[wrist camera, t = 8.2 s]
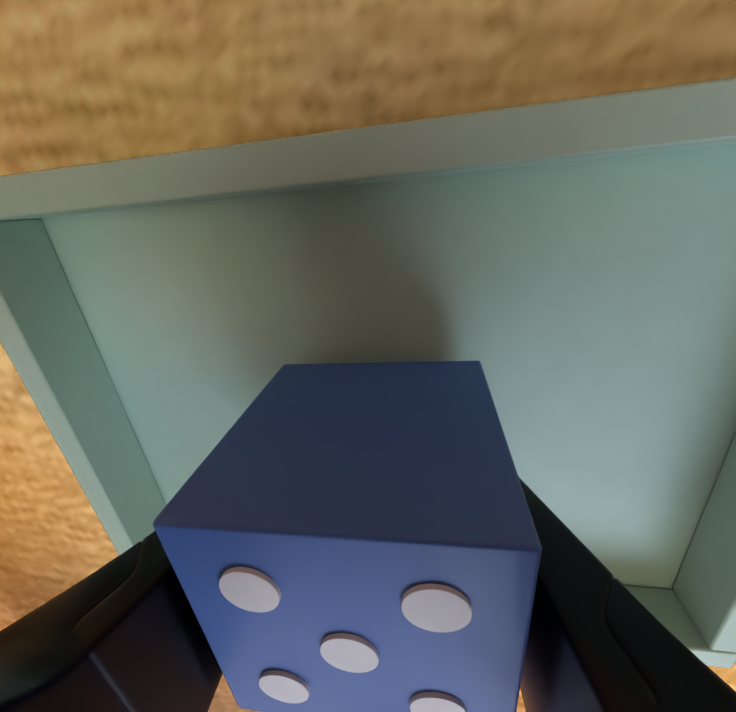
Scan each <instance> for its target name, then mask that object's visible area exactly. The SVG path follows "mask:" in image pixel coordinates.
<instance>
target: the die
mask: <svg viewBox="0 0 736 712" xmlns="http://www.w3.org/2000/svg"><path fill="white" fill-rule="evenodd" d="M153 527H154V529H155V531H156V533H157V535H158V537H159V540H160V542H161V544H162V546H163V548H164V550H165V552H166V554H167V556H168V559H169V561H170V563H171V565H172V567H173V569H174V571H175V573H176V575H177V578H178V580H179V582H180V584H181V586H182V588H183V590H184V592H185V594H186V596H187V599H188V601H189V603H190V605H191V607H192V609H193V611H194V613H195V615H196V618H197V620H198V622H199V624H200V626H201V628H202V630H203V632H204V634H205V637H206V639H207V641H208V643H209V645H210V647H211V649H212V651H213V653H214V656H215V658H216V660H217V662H218V664H219V666H220V668H221V670H222V672H223V675H224V677H225V679H226V681H227V683H228V685H229V687H230V689H231V691H232V694H233V696H234V698H235V700H236V702H237V704H238V706H239V707H240V708H244V709H251V710H257V711H263V712H516V709H517V702H518V696H519V690H520V683H521V677H522V671H523V665H524V658H525V652H526V646H527V639H528V633H529V627H530V621H531V614H532V608H533V602H534V596H535V589H536V583H537V577H538V570H539V564H540V558H541V552H542V546H541V543H540V540H539V537H538V534H537V531H536V528H535V525H534V522H533V519H532V516H531V513H530V510H529V507H528V504H527V501H526V498H525V495H524V492H523V489H522V486H521V483H520V480H519V477H518V474H517V471H516V468H515V465H514V462H513V459H512V456H511V453H510V450H509V447H508V444H507V441H506V438H505V435H504V432H503V429H502V426H501V423H500V420H499V417H498V414H497V411H496V407H495V404H494V401H493V398H492V395H491V392H490V389H489V386H488V383H487V380H486V377H485V374H484V371H483V368H482V365H481V362H480V361H428V362H377V363H326V364H285V365H283V366H282V367H281V368H280V369H279V371H278V372H277V373H276V374H275V375H274V377H273V378H272V379H271V380H270V381H269V383H268V384H267V385H266V386H265V387H264V389H263V390H262V391H261V392H260V393H259V395H258V396H257V397H256V398H255V399H254V401H253V402H252V403H251V404H250V405H249V407H248V408H247V409H246V410H245V411H244V413H243V414H242V415H241V416H240V417H239V419H238V420H237V421H236V422H235V423H234V425H233V426H232V427H231V428H230V429H229V431H228V432H227V433H226V434H225V435H224V437H223V438H222V439H221V440H220V441H219V443H218V444H217V445H216V446H215V447H214V449H213V450H212V451H211V452H210V453H209V455H208V456H207V457H206V458H205V459H204V461H203V462H202V463H201V464H200V465H199V467H198V468H197V469H196V470H195V471H194V473H193V474H192V475H191V476H190V477H189V479H188V480H187V481H186V482H185V483H184V485H183V486H182V487H181V488H180V489H179V491H178V492H177V493H176V494H175V495H174V497H173V498H172V499H171V500H170V501H169V503H168V504H167V505H166V506H165V507H164V509H163V510H162V511H161V512H160V513H159V515H158V516H157V517H156V518H155V519H154V522H153Z"/></svg>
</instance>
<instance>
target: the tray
mask: <svg viewBox="0 0 736 712" xmlns="http://www.w3.org/2000/svg"><path fill="white" fill-rule="evenodd" d="M0 341H1V343H2V345H3V347H4V349H5V350H6V352H7V354H8V356H9V358H10V359H11V361H12V363H13V365H14V367H15V369H16V370H17V372H18V374H19V376H20V378H21V379H22V381H23V383H24V385H25V387H26V388H27V390H28V392H29V394H30V396H31V397H32V399H33V401H34V403H35V405H36V406H37V408H38V410H39V412H40V414H41V415H42V417H43V419H44V421H45V423H46V424H47V426H48V428H49V430H50V432H51V433H52V435H53V437H54V439H55V441H56V442H57V444H58V446H59V448H60V450H61V451H62V453H63V455H64V457H65V459H66V460H67V462H68V464H69V466H70V468H71V469H72V471H73V473H74V475H75V477H76V478H77V480H78V482H79V484H80V486H81V487H82V489H83V491H84V493H85V495H86V496H87V498H88V500H89V502H90V504H91V505H92V507H93V509H94V511H95V513H96V514H97V516H98V518H99V520H100V522H101V523H102V525H103V527H104V529H105V531H106V532H107V534H108V536H109V538H110V540H111V541H112V543H113V545H114V547H115V549H116V550H117V552H118V554H119V555H121V554H122V553H124V552H125V551H126V550H128V549H129V548H131V547H132V546H134V545H135V544H136V543H138V542H139V541H143V539H144V538H145V537H147V536H148V535H149V534H151V533H152V532H154V531H155V529H154V527H153V522H154V519H155V518H156V517H157V516H158V515H159V513H160V512H161V511H162V510H163V509H164V507H165V506H166V505H167V504H168V503H169V501H170V500H171V499H172V498H173V497H174V495H175V494H176V493H177V492H178V491H179V489H180V488H181V487H182V486H183V485H184V483H185V482H186V481H187V480H188V479H189V477H190V476H191V475H192V474H193V473H194V471H195V470H196V469H197V468H198V467H199V465H200V464H201V463H202V462H203V461H204V459H205V458H206V457H207V456H208V455H209V453H210V452H211V451H212V450H213V449H214V447H215V446H216V445H217V444H218V443H219V441H220V440H221V439H222V438H223V437H224V435H225V434H226V433H227V432H228V431H229V429H230V428H231V427H232V426H233V425H234V423H235V422H236V421H237V420H238V419H239V417H240V416H241V415H242V414H243V413H244V411H245V410H246V409H247V408H248V407H249V405H250V404H251V403H252V402H253V401H254V399H255V398H256V397H257V396H258V395H259V393H260V392H261V391H262V390H263V389H264V387H265V386H266V385H267V384H268V383H269V381H270V380H271V379H272V378H273V377H274V375H275V374H276V373H277V372H278V371H279V369H280V368H281V367H282V366H283V365H285V364H326V363H377V362H428V361H480V362H481V365H482V368H483V371H484V374H485V377H486V380H487V383H488V386H489V389H490V392H491V395H492V398H493V401H494V404H495V407H496V411H497V414H498V417H499V420H500V423H501V426H502V429H503V432H504V435H505V438H506V441H507V444H508V447H509V450H510V453H511V456H512V459H513V462H514V465H515V468H516V471H517V474H518V476H519V477H520V479H521V480H522V481H523V482H524V483H525V484H526V485H527V486H528V487H529V488H530V489H531V490H532V491H533V492H534V493H535V494H536V495H537V496H538V497H539V498H540V499H541V500H542V501H543V502H544V503H545V504H546V506H547V507H548V508H549V509H550V510H551V511H552V512H553V513H554V514H555V515H556V516H557V517H558V518H559V519H560V520H561V521H562V522H563V523H564V524H565V525H566V526H567V527H568V528H569V529H570V530H571V531H572V533H573V534H574V535H575V536H576V537H577V538H578V539H579V540H580V541H581V542H582V543H583V544H584V545H585V546H586V547H587V548H588V549H589V550H590V551H591V552H592V553H593V554H594V555H595V556H596V557H597V558H598V560H599V561H600V562H601V563H602V564H603V565H604V566H605V567H606V568H607V569H608V570H609V571H610V572H611V573H612V574H613V579H614V578H617V579H618V580H619V581H620V582H621V583H622V584H623V585H624V586H625V587H626V588H627V589H628V590H629V591H630V593H631V594H632V595H633V596H634V597H635V598H636V599H637V600H638V601H639V602H640V603H641V604H642V605H643V606H644V607H645V608H646V609H647V610H648V611H649V612H650V613H651V614H652V615H653V616H654V617H655V618H656V619H657V620H658V621H659V622H660V623H661V624H662V625H663V626H664V627H666V628H667V629H668V630H669V631H670V632H671V633H672V634H673V635H674V636H675V637H676V638H677V639H678V640H680V641H681V642H682V643H683V644H684V645H685V646H686V647H687V648H688V649H689V650H690V651H691V652H692V653H693V654H695V655H696V656H697V657H698V658H699V659H700V660H701V661H702V662H703V663H704V664H705V665H707V666H715V667H724V668H732V667H733V665H734V664H735V662H736V77H732V78H724V79H717V80H710V81H702V82H695V83H687V84H680V85H672V86H665V87H658V88H650V89H643V90H635V91H628V92H620V93H613V94H606V95H598V96H591V97H583V98H576V99H568V100H561V101H553V102H546V103H539V104H531V105H524V106H516V107H509V108H501V109H494V110H487V111H479V112H472V113H464V114H457V115H449V116H442V117H435V118H427V119H420V120H412V121H405V122H397V123H390V124H383V125H375V126H368V127H360V128H353V129H345V130H338V131H331V132H323V133H316V134H308V135H301V136H293V137H286V138H279V139H271V140H264V141H256V142H249V143H241V144H234V145H227V146H219V147H212V148H204V149H197V150H189V151H182V152H175V153H167V154H160V155H152V156H145V157H137V158H130V159H123V160H115V161H108V162H100V163H93V164H85V165H78V166H70V167H63V168H56V169H48V170H41V171H33V172H26V173H18V174H11V175H4V176H0Z"/></svg>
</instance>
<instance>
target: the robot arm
mask: <svg viewBox="0 0 736 712" xmlns="http://www.w3.org/2000/svg"><path fill="white" fill-rule="evenodd" d="M518 477H519V476H518ZM519 480H520V483H521V486H522V489H523V492H524V495H525V498H526V501H527V504H528V507H529V510H530V513H531V516H532V519H533V522H534V525H535V528H536V531H537V534H538V537H539V540H540V543H541V546H542V552H541V558H540V564H539V570H538V577H537V583H536V589H535V596H534V602H533V608H532V614H531V621H530V627H529V633H528V639H527V646H526V652H525V658H524V665H523V671H522V677H521V683H520V689H521V693H522V697H523V701H524V705H525V709H526V712H736V692H735V691H734V690H733V689H732V688H731V687H730V686H729V685H728V684H727V683H725V682H724V681H723V680H722V679H721V678H720V677H719V676H718V675H717V674H715V673H714V672H713V671H712V670H711V669H710V668H709V667H708V666H707V665H705V664H704V663H703V662H702V661H701V660H700V659H699V658H698V657H697V656H696V655H695V654H693V653H692V652H691V651H690V650H689V649H688V648H687V647H686V646H685V645H684V644H683V643H682V642H681V641H680V640H678V639H677V638H676V637H675V636H674V635H673V634H672V633H671V632H670V631H669V630H668V629H667V628H666V627H664V626H663V625H662V624H661V623H660V622H659V621H658V620H657V619H656V618H655V617H654V616H653V615H652V614H651V613H650V612H649V611H648V610H647V609H646V608H645V607H644V606H643V605H642V604H641V603H640V602H639V601H638V600H637V599H636V598H635V597H634V596H633V595H632V594H631V593H630V591H629V590H628V589H627V588H626V587H625V586H624V585H623V584H622V583H621V582H620V581H619V580H618V579H617V578H614V579H613V574H612V573H611V572H610V571H609V570H608V569H607V568H606V567H605V566H604V565H603V564H602V563H601V562H600V561H599V560H598V558H597V557H596V556H595V555H594V554H593V553H592V552H591V551H590V550H589V549H588V548H587V547H586V546H585V545H584V544H583V543H582V542H581V541H580V540H579V539H578V538H577V537H576V536H575V535H574V534H573V533H572V531H571V530H570V529H569V528H568V527H567V526H566V525H565V524H564V523H563V522H562V521H561V520H560V519H559V518H558V517H557V516H556V515H555V514H554V513H553V512H552V511H551V510H550V509H549V508H548V507H547V506H546V504H545V503H544V502H543V501H542V500H541V499H540V498H539V497H538V496H537V495H536V494H535V493H534V492H533V491H532V490H531V489H530V488H529V487H528V486H527V485H526V484H525V483H524V482H523V481H522V480H521V479H520V477H519ZM222 674H223V672H222V670H221V668H220V666H219V664H218V662H217V660H216V658H215V656H214V653H213V651H212V649H211V647H210V645H209V643H208V641H207V639H206V637H205V634H204V632H203V630H202V628H201V626H200V624H199V622H198V620H197V618H196V615H195V613H194V611H193V609H192V607H191V605H190V603H189V601H188V599H187V596H186V594H185V592H184V590H183V588H182V586H181V584H180V582H179V580H178V578H177V575H176V573H175V571H174V569H173V567H172V565H171V563H170V561H169V559H168V556H167V554H166V552H165V550H164V548H163V546H162V544H161V542H160V540H159V537H158V535H157V533H156V531H154V532H152V533H151V534H149V535H148V536H147V537H145V538H144V539H143V541H139V542H138V543H136V544H135V545H134V546H132V547H131V548H129V549H128V550H126V551H125V552H124V553H122V554H121V555H119V556H118V557H116V558H115V559H113V560H112V561H110V562H109V563H107V564H106V565H104V566H103V567H102V568H100V569H99V570H97V571H96V572H94V573H92V574H91V575H89V576H88V577H86V578H85V579H83V580H81V581H80V582H78V583H77V584H75V585H74V586H72V587H71V588H69V589H67V590H66V591H64V592H63V593H61V594H59V595H58V596H56V597H55V598H53V599H51V600H50V601H48V602H47V603H45V604H43V605H42V606H40V607H38V608H37V609H35V610H34V611H32V612H30V613H29V614H27V615H26V616H24V617H22V618H21V619H19V620H18V621H16V622H14V623H13V624H11V625H10V626H8V627H6V628H5V629H3V630H1V631H0V712H208V709H209V707H210V704H211V702H212V699H213V697H214V694H215V691H216V689H217V686H218V684H219V681H220V679H221V676H222Z"/></svg>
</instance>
